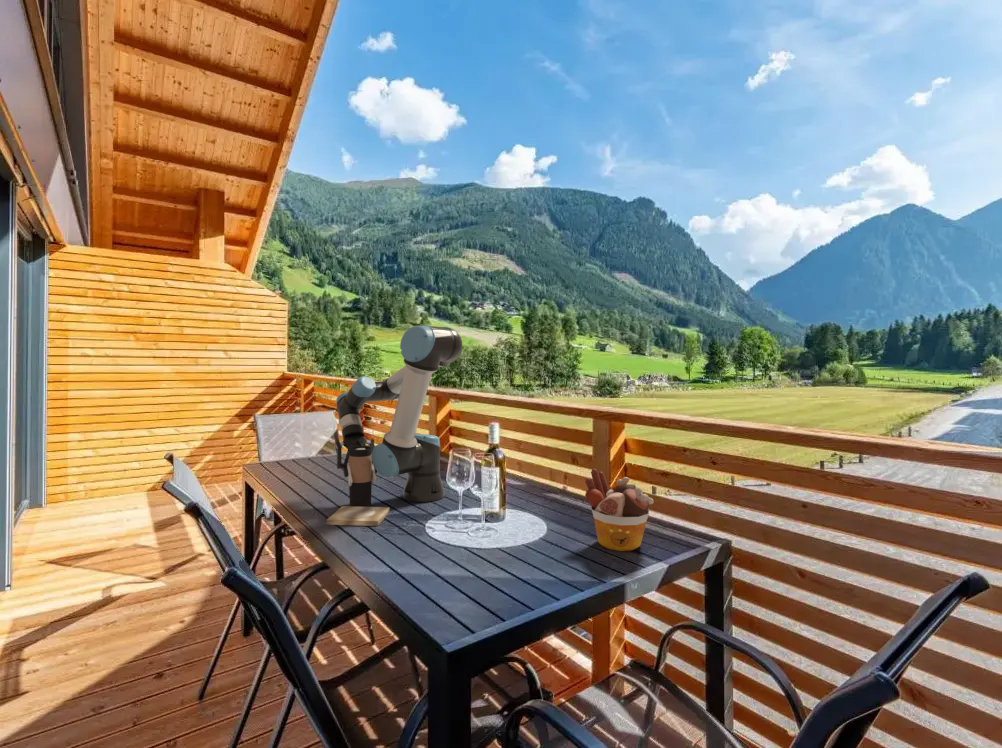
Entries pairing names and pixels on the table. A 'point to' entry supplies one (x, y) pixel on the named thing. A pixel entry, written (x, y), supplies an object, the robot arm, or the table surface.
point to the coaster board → (358, 516)
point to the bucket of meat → (617, 512)
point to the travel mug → (360, 476)
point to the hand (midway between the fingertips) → (362, 482)
